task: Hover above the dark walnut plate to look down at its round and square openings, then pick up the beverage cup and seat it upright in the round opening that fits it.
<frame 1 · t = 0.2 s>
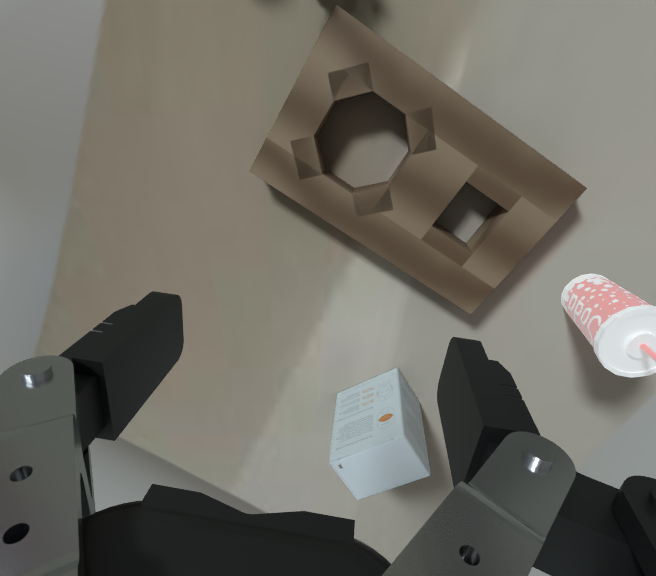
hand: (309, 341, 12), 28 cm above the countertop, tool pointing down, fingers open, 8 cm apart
beverage cup: (585, 294, 40), on the countertop
small box: (378, 395, 47), on the countertop
socket plate: (409, 174, 37), on the countertop
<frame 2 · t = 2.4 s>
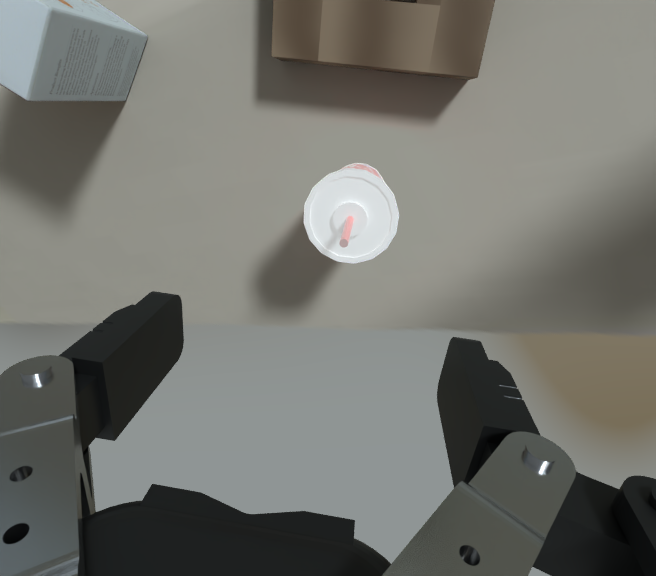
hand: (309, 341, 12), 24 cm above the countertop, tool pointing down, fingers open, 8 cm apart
beverage cup: (358, 190, 34), on the countertop
small box: (94, 41, 32), on the countertop
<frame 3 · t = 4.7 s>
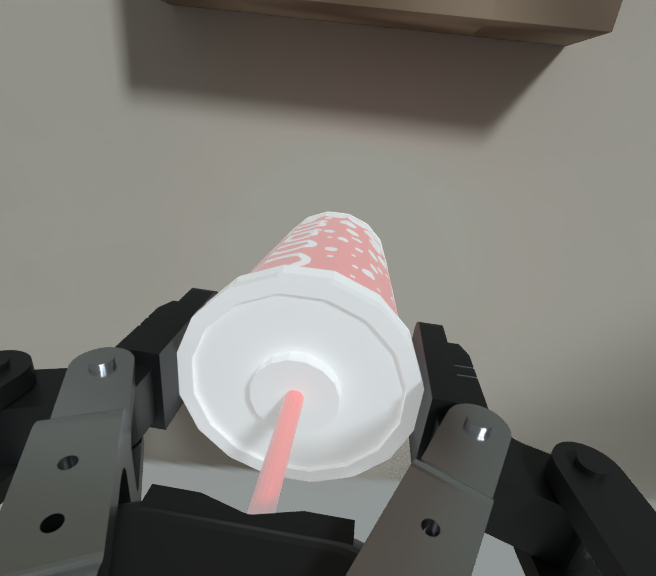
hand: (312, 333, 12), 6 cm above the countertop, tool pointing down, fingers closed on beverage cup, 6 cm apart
beverage cup: (333, 260, 18), on the countertop, touching gripper
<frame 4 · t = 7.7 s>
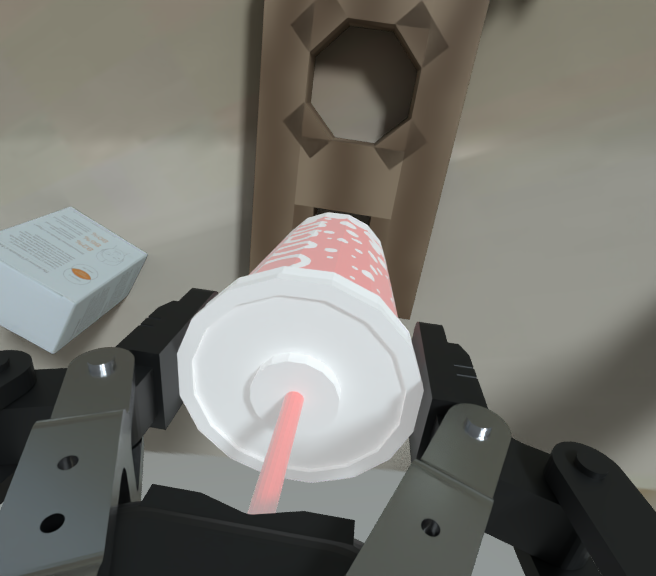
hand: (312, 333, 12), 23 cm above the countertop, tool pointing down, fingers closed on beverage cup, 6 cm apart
beverage cup: (333, 261, 18), point 17 cm above the countertop, touching gripper
small box: (102, 252, 39), on the countertop
socket plate: (352, 156, 32), on the countertop
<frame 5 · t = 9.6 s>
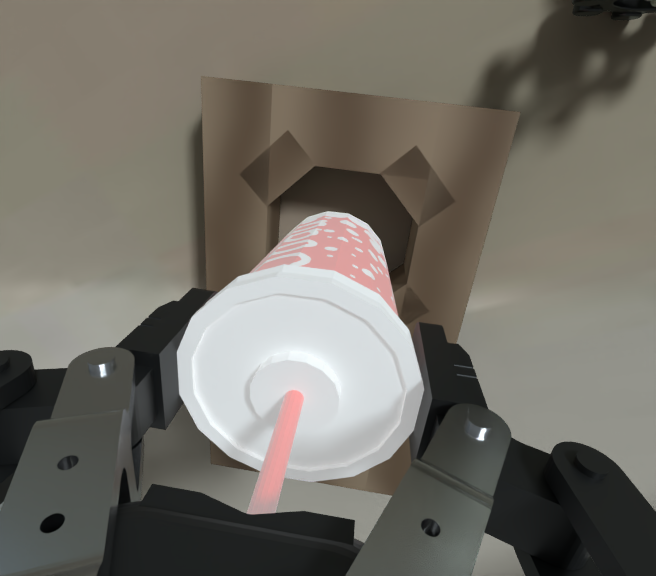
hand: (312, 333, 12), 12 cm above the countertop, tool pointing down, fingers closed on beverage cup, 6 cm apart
beverage cup: (333, 260, 18), point 6 cm above the countertop, touching gripper
socket plate: (333, 306, 25), on the countertop
when the fingers open (7 cm above the countertop, at t = 11.1 s): beverage cup drops 1 cm, resting in socket plate.
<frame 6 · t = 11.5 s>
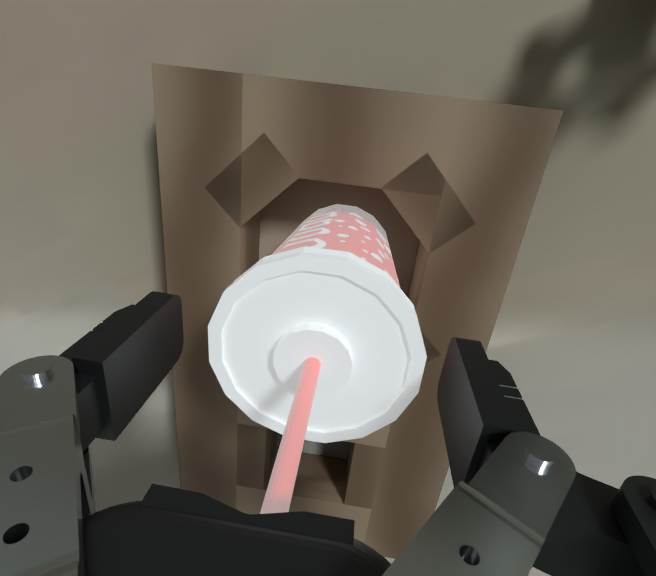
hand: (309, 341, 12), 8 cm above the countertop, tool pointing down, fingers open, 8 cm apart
beverage cup: (341, 250, 20), resting in socket plate
socket plate: (325, 340, 21), on the countertop
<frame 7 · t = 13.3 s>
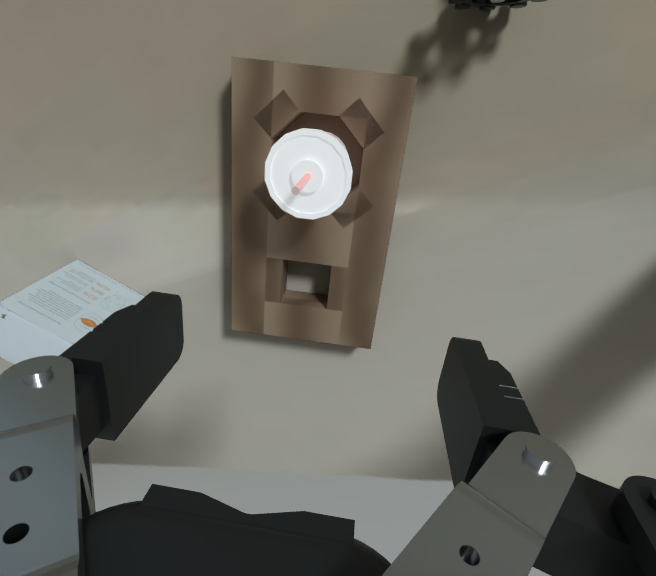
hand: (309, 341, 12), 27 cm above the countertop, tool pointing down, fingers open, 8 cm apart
beverage cup: (322, 158, 36), resting in socket plate
small box: (106, 295, 44), on the countertop
socket plate: (314, 213, 38), on the countertop
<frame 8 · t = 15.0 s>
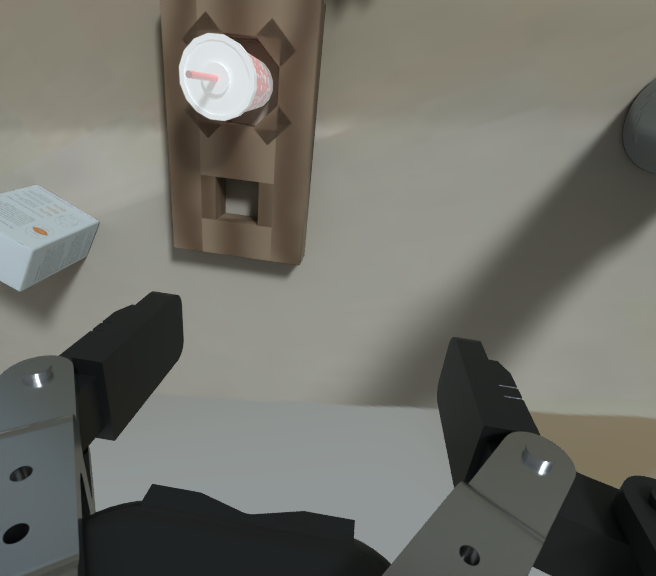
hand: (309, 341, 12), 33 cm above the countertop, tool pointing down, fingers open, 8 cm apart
beverage cup: (250, 83, 40), resting in socket plate
small box: (65, 221, 48), on the countertop
socket plate: (246, 137, 42), on the countertop
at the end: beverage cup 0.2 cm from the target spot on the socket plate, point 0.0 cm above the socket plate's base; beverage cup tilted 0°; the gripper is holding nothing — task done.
